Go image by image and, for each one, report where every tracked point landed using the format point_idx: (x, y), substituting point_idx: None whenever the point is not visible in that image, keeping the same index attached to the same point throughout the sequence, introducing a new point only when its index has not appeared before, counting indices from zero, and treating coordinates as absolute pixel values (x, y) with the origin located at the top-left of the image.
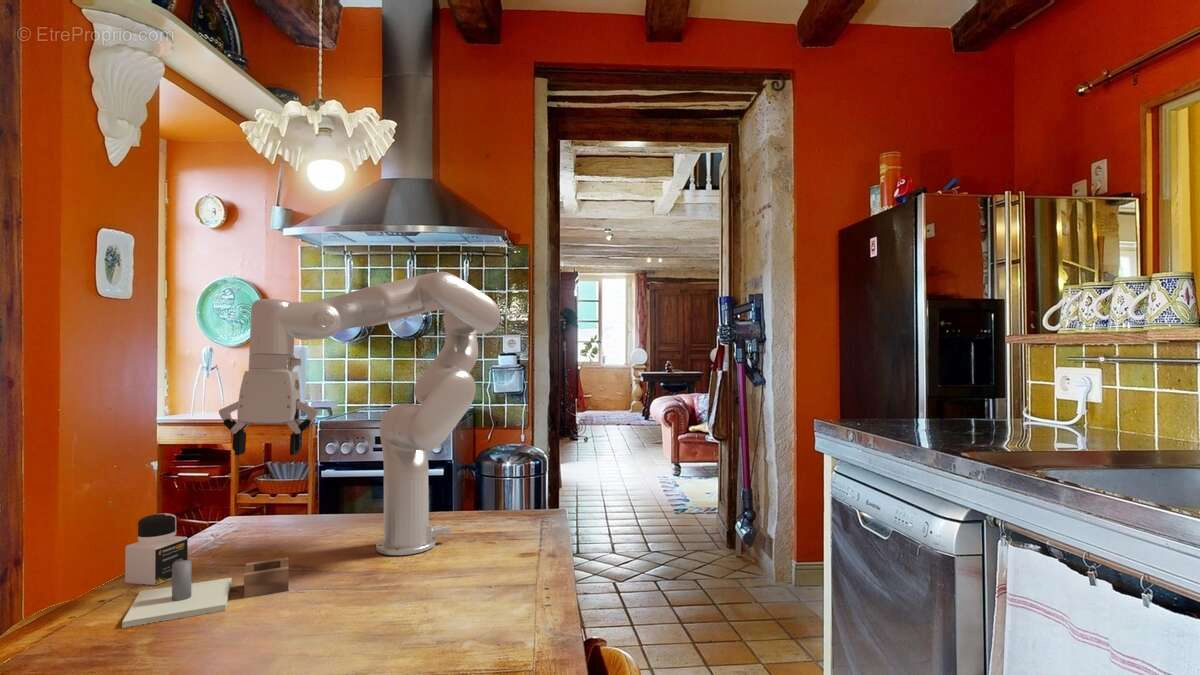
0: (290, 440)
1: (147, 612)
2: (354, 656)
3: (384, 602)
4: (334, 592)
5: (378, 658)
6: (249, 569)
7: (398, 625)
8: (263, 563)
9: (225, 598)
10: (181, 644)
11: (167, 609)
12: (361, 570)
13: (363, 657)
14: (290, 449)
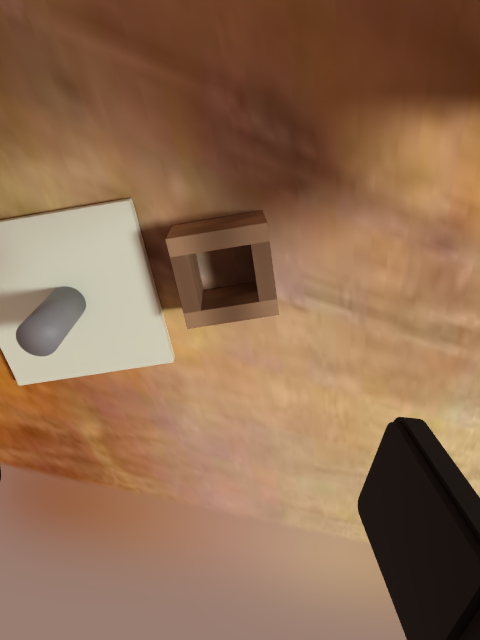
0: (399, 614)
1: (40, 358)
2: None
3: (440, 399)
4: (362, 330)
5: None
6: (188, 292)
7: None
8: (210, 250)
9: (162, 333)
10: (151, 453)
11: (71, 354)
12: (432, 211)
13: None
14: (372, 537)
